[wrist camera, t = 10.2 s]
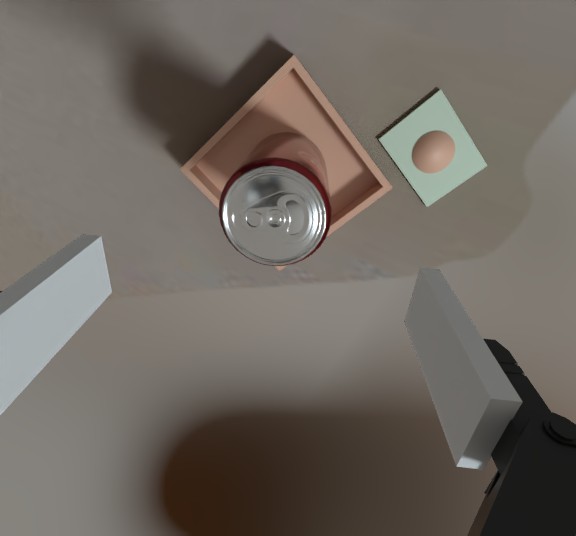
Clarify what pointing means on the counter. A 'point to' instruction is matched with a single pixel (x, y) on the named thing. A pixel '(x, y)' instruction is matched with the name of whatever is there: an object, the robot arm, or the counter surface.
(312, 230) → the soda can
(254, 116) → the peach shallow tray
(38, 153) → the counter surface
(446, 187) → the tile
